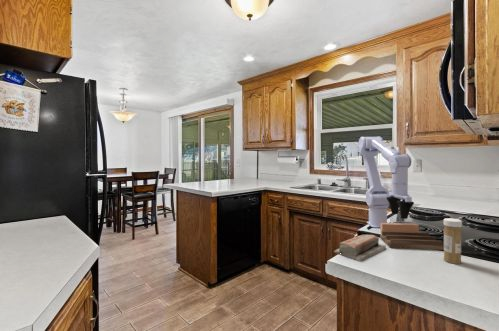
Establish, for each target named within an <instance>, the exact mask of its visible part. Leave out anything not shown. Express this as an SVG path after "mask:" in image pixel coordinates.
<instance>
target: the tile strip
mask: <svg viewBox="0 0 499 331" xmlns="http://www.w3.org/2000/svg"><path fill="white" fill-rule="evenodd" d="M382 231H395V232H420V225H419V224H418V223H412V222H411V223H406V222H405V223H404V222H401V223H400V222H395V223H394V222H387V223H380V233H381V234H382ZM381 234H380V235H381Z"/></svg>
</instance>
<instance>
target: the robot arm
mask: <svg viewBox="0 0 499 331" xmlns="http://www.w3.org/2000/svg"><path fill="white" fill-rule="evenodd" d="M357 146H358V149H359V151H358V152H359V153H360V155H361V156H362V160H363V163H364V168H365V171H366V176H367V180H368V183H369V188H368V189H367V190H366V192H365V202H366V204H367V206H368V207H369V208H368V221H366V223H367V224H368V225H369V226H370V227H372V228H380V223H388V208H390V212H391V214H392V215H398V213H399V214H400V218H401V219H402V220H403V219H405V220H406V219H408V217H409V214H410V211H411V209H412V208H413V206H414V204H415V202H414V201H413V198H412V196H410V194H408V192H409V191H408V190H409V188H408V187H409V184H408V183H409V182H408V181H409V180H408V178H409V175H408V174H409V168H410V167H411V166H412V158H411V156H410V155H409V154H408V153H401V151H399V150H397V149H396V148H395V146H393V145H387V144H386V143H385V142H384V139H383V137H381V136H360V138H359V139H358V145H357ZM380 152H381V156H382V157H383V158H384V159H385V160H386V161H387V162H388V166H389V169H390V170H389V171H390V172H391V191H389V190H388V189H387V188H386V187H384V186H382V182H381V179H380V178H381V177H380V174H379V170H378V167H377V162H376V158H375V156H377V155H378V154H379V153H380Z"/></svg>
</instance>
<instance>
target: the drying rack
mask: <svg viewBox="0 0 499 331" xmlns="http://www.w3.org/2000/svg"><path fill="white" fill-rule="evenodd" d="M379 235H380V236H379V239H380V240H381V241H382V242H383V243H384V245H386V247H388V248H389V249H409V250H410V249H413V250H429V251H430V250H433V251H434V250H436V251H444V240H442V239H441V240H439V239H438V240H437V239H436V237H437V236H433V235H432V236H431V235H430V232H423V231H422V232H421V231H419V232H395V231H382V235H381V234H379Z"/></svg>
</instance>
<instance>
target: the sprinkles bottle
mask: <svg viewBox="0 0 499 331" xmlns="http://www.w3.org/2000/svg"><path fill="white" fill-rule="evenodd" d="M462 227H463V221H462V220H460V219H458V218H452V217H451V218H448V217H446V218H444V219H443V245H444V250H443V261H445V262H446V263H449V264H454V265H456V264H457V265H458V264H461V263H462Z"/></svg>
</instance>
